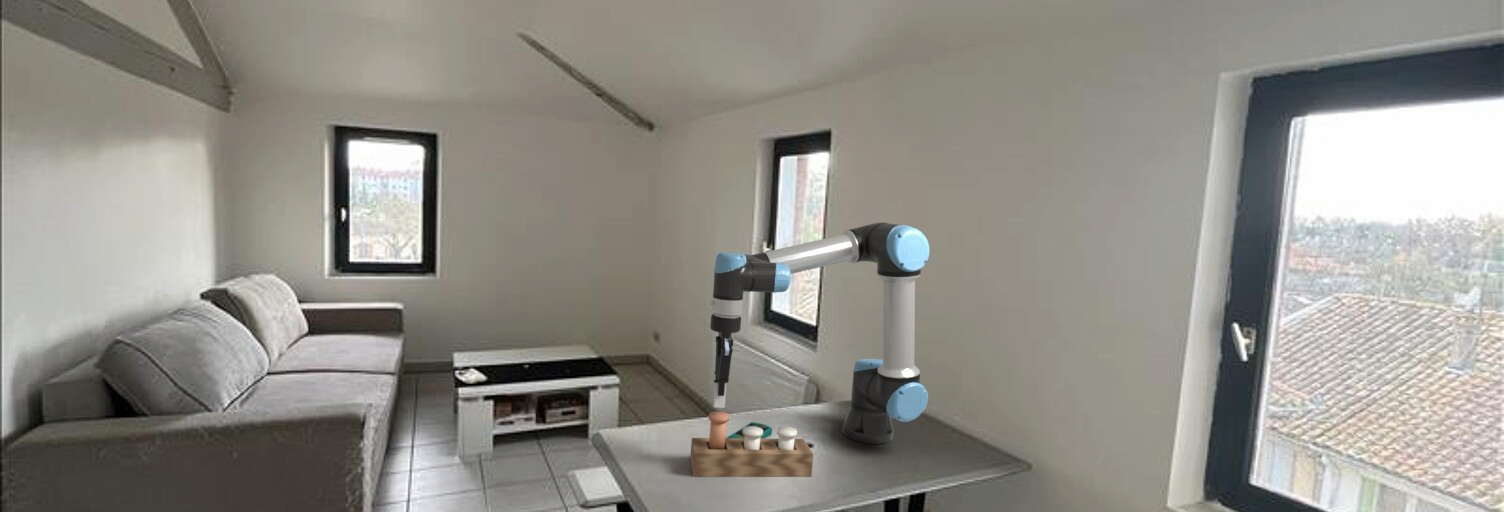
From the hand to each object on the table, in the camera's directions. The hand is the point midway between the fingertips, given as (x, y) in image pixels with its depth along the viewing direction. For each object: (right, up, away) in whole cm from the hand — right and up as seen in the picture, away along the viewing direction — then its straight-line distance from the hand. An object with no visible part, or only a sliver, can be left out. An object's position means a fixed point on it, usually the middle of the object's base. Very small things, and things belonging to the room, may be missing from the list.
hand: (719, 406), depth 171 cm
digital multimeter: (+8, -15, +24) cm, 29 cm away
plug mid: (+8, -15, +3) cm, 18 cm away
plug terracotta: (-1, -11, +1) cm, 11 cm away
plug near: (+17, -16, +5) cm, 24 cm away
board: (+8, -17, +3) cm, 19 cm away
